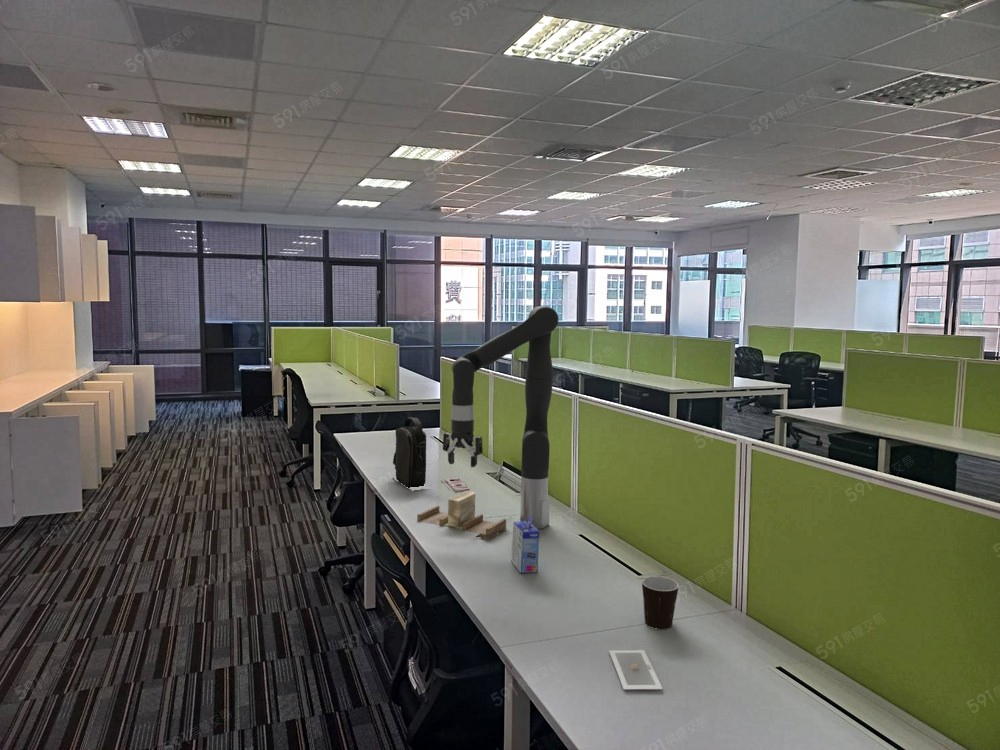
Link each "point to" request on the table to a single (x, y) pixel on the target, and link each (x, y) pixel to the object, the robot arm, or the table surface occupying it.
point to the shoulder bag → (410, 454)
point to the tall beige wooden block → (461, 509)
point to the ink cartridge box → (525, 546)
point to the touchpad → (635, 669)
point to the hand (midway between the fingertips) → (462, 465)
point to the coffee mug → (659, 601)
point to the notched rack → (472, 525)
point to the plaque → (458, 483)
